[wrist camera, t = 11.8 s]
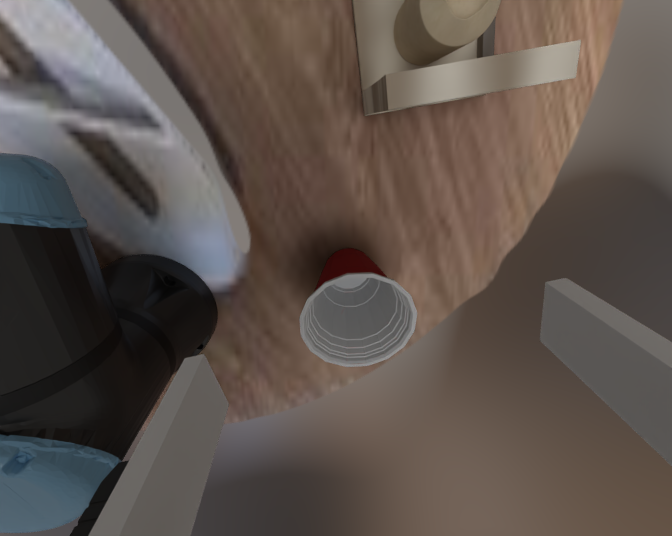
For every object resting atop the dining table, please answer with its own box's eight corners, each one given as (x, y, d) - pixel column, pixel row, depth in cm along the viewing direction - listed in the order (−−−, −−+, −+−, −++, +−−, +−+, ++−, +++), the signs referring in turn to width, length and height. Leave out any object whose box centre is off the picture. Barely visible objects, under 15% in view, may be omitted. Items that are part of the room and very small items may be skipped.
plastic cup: (316, 314, 42) (314, 382, 31) (295, 239, 37) (284, 287, 26) (396, 298, 41) (423, 361, 30) (385, 220, 37) (412, 261, 26)
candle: (462, 0, 28) (531, -58, 19) (441, 72, 30) (493, 51, 21) (403, -17, 27) (444, -86, 18) (385, 57, 29) (414, 29, 20)
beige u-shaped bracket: (364, 116, 32) (388, 112, 20) (347, -38, 27) (367, -161, 15) (482, 95, 32) (575, 79, 20) (487, -64, 27) (617, -210, 15)
